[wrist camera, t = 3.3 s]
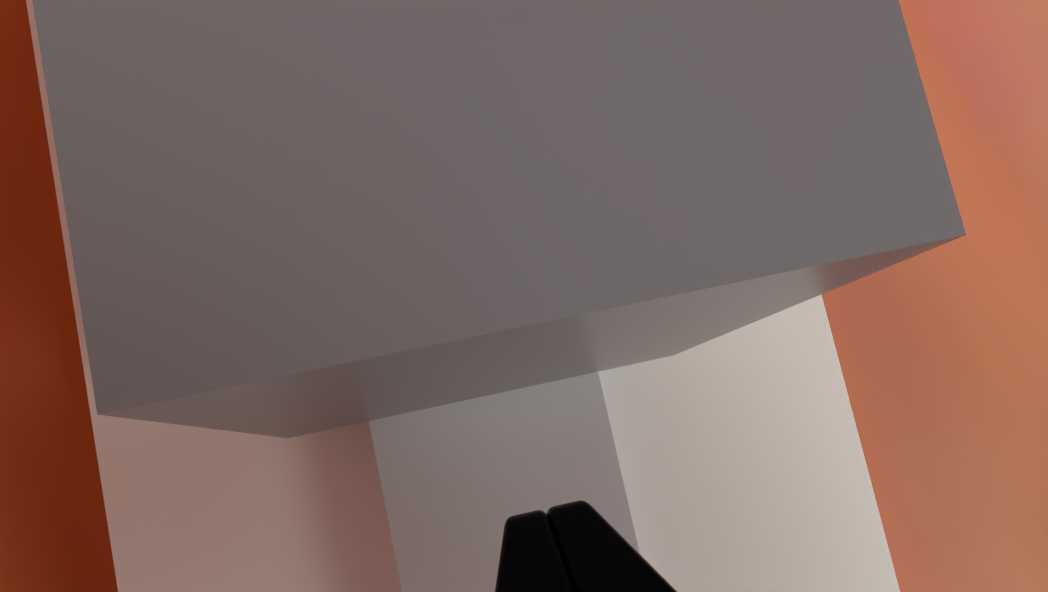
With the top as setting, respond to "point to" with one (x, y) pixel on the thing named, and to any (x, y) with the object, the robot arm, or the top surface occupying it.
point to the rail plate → (515, 476)
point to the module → (464, 189)
